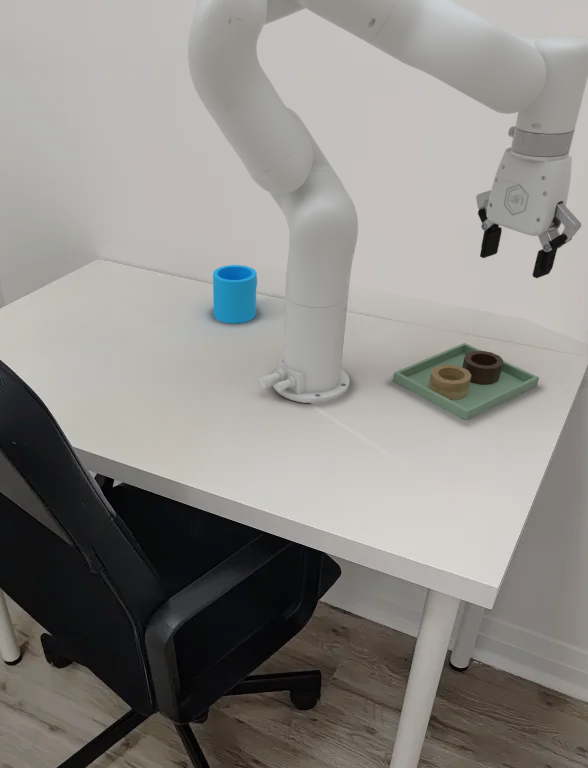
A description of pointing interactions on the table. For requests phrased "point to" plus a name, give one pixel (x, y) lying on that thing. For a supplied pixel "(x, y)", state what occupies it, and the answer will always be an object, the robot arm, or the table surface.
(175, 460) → the table surface
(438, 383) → the birch ring
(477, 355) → the walnut ring
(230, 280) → the mug
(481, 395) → the tray
